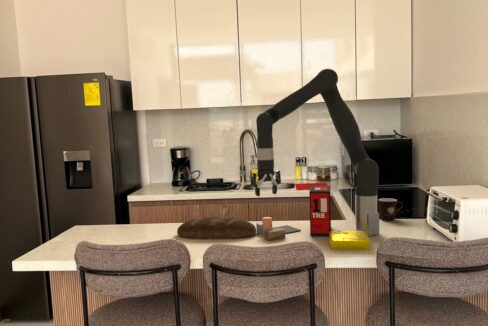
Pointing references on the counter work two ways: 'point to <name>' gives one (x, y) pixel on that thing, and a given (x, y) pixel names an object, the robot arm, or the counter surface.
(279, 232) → the walnut block
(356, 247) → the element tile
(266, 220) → the terracotta cylinder
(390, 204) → the coffee mug
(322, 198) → the cleaning product box
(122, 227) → the counter surface
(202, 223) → the bread
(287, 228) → the charcoal mat
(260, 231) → the blue-grey cube
